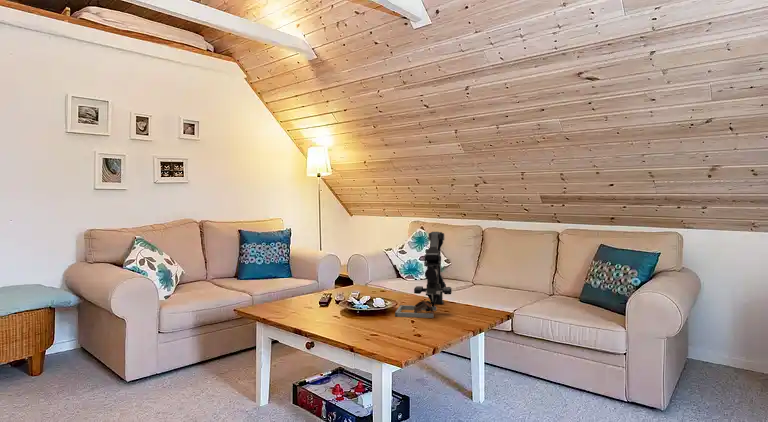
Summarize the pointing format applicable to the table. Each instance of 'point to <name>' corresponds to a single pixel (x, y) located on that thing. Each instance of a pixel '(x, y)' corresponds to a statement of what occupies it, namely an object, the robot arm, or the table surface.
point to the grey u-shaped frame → (406, 314)
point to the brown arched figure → (423, 306)
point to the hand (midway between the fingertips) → (433, 307)
